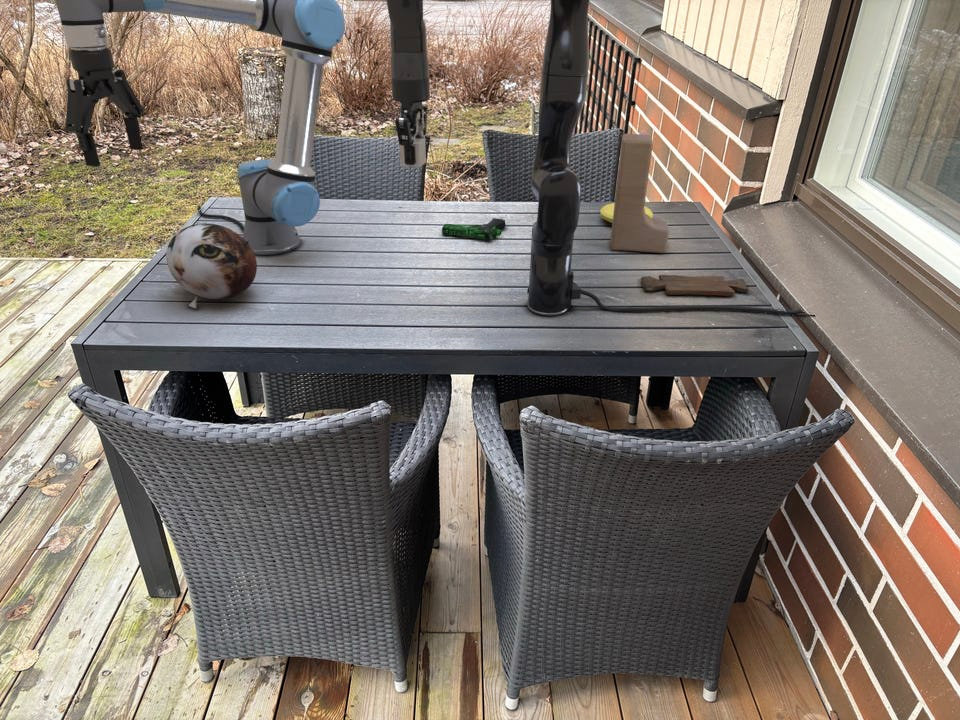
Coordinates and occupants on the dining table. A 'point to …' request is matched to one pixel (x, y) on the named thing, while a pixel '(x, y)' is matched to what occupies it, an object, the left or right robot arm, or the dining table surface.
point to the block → (419, 153)
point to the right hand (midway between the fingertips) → (414, 160)
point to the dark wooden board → (694, 285)
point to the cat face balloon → (211, 261)
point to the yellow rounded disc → (609, 210)
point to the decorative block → (635, 200)
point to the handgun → (476, 230)
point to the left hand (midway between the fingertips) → (116, 157)
